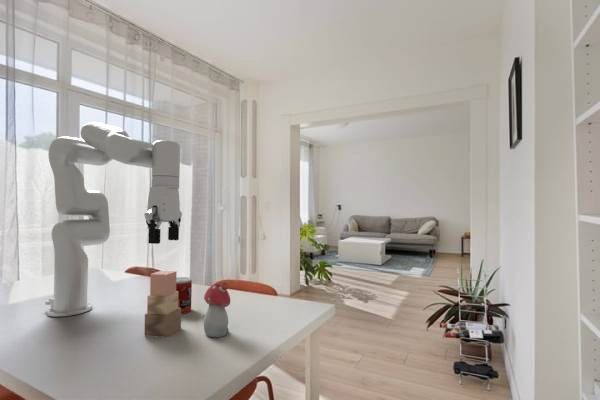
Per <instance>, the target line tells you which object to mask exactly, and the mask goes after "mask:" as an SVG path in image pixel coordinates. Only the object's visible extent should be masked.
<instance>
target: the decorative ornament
mask: <svg viewBox="0 0 600 400" xmlns="http://www.w3.org/2000/svg"><path fill="white" fill-rule="evenodd" d="M229 288H230V287H229V284H228V282H226V281H223V282H220V284H219V283H215V284H212V285H211V286H209V287H208V289H206V291H205V293H204V296H203V299H204V301H205V303H206V304H207V305H208V308H207V310H206V312H205V314H204V317H203V318H204V319H203V329H204V333H205V335H206V336H208V337H209V338H220V337H224V336H227V335H228V334H229V327H228V325H229V316H228V313H227V312H228V311H227V310H226V307H229V306H230V304H231V296H230V293H229V292H228V289H229Z"/></svg>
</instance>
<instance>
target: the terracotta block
mask: <svg viewBox="0 0 600 400" xmlns="http://www.w3.org/2000/svg"><path fill="white" fill-rule="evenodd" d="M176 278H177V271H173V270H172V271H171V270H160V271H156V272H153V273H150V278H149V279H150V280H149V281H150V286H149V287H150V288H149V291H150V292H149V293H150V294H149V295H152V296H168V295H170V294H172V293H175V292H176Z"/></svg>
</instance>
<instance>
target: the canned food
mask: <svg viewBox="0 0 600 400" xmlns="http://www.w3.org/2000/svg"><path fill="white" fill-rule="evenodd" d="M192 281H193V280H192V278H191V277H188V276H187V277H186V276H180V277H178V276H176V291H178V308H181V315H184V314H187V312H188V313H189V312H190V311H191V309H192V291H193V290H192V289H193V287H192V285H193V284H192V283H193V282H192Z"/></svg>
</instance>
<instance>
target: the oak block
mask: <svg viewBox="0 0 600 400" xmlns="http://www.w3.org/2000/svg"><path fill="white" fill-rule="evenodd" d="M146 302H147V307H146V309H147V311H146V313H147V314H160V315H168V314H170V313H171V312H173V311H174V310H176V309H178V291H176V292H175V293H172V294H170V295H168V296H152V295H150V294H149V295H147V301H146Z"/></svg>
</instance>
